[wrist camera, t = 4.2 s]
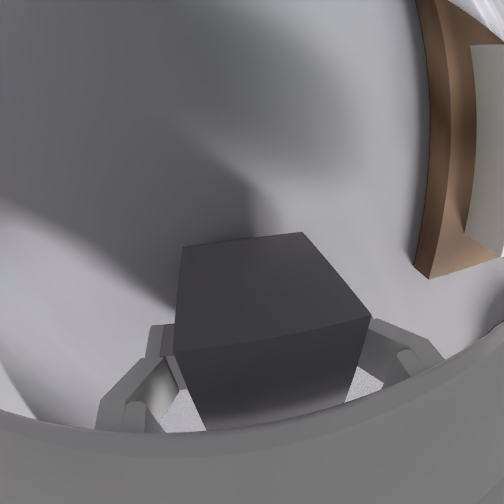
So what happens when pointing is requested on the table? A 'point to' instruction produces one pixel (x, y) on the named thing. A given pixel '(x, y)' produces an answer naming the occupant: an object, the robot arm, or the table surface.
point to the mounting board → (450, 138)
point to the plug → (265, 330)
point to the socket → (488, 150)
